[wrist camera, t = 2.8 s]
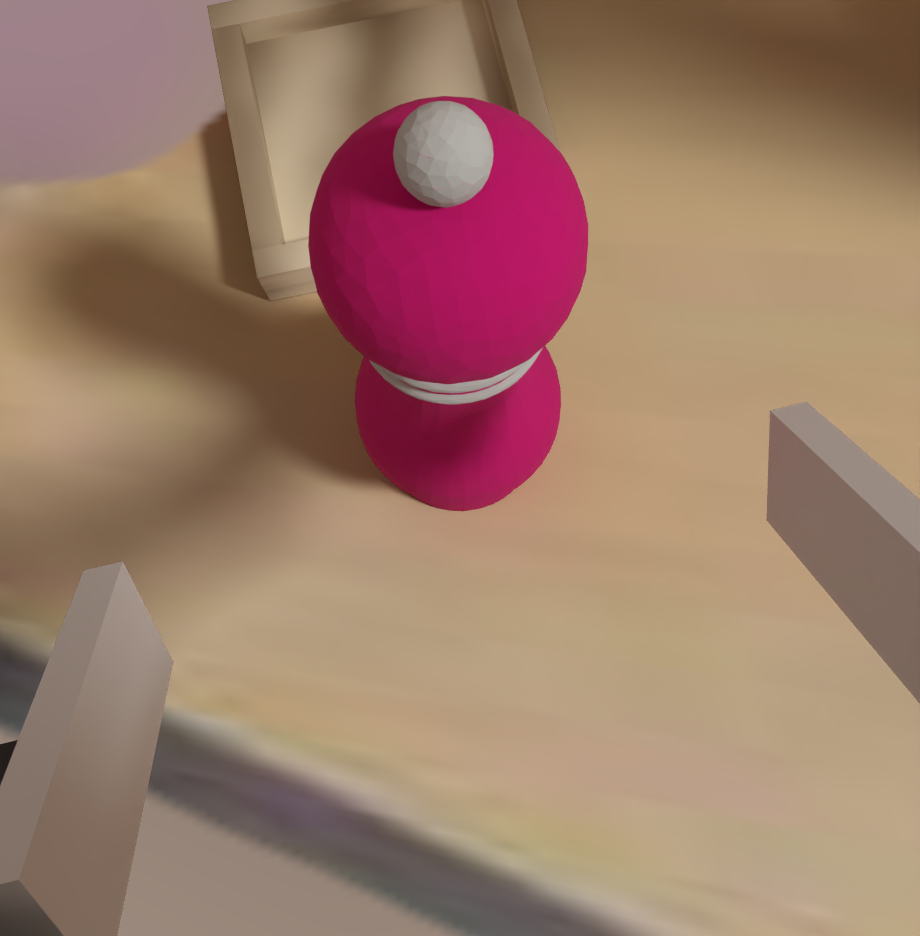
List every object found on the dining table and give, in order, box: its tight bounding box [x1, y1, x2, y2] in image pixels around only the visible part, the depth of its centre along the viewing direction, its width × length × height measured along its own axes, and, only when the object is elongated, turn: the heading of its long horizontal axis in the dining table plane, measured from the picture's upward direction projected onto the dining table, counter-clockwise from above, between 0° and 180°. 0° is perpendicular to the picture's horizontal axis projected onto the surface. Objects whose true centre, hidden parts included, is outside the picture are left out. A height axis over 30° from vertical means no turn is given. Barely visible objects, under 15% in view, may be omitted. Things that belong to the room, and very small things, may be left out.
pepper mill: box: [308, 96, 588, 511], centre depth 23 cm, size 7×7×20 cm
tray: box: [207, 0, 559, 301], centre depth 35 cm, size 13×13×2 cm
